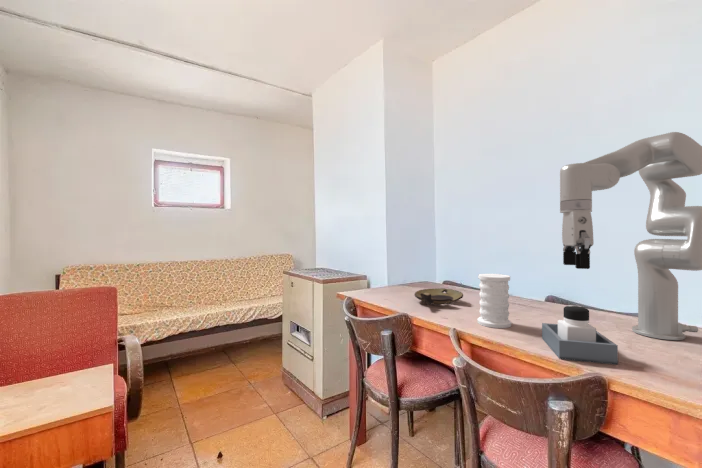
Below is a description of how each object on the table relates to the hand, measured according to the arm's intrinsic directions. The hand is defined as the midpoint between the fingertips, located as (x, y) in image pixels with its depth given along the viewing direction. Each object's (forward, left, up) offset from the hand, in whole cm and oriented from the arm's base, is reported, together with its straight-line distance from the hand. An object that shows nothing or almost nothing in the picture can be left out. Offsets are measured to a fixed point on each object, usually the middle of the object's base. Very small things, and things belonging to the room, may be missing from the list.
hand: (575, 266), depth 91 cm
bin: (0, 0, -24) cm, 24 cm away
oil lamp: (+42, -50, -24) cm, 70 cm away
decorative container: (+19, -22, -24) cm, 38 cm away
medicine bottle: (0, 0, -24) cm, 24 cm away
